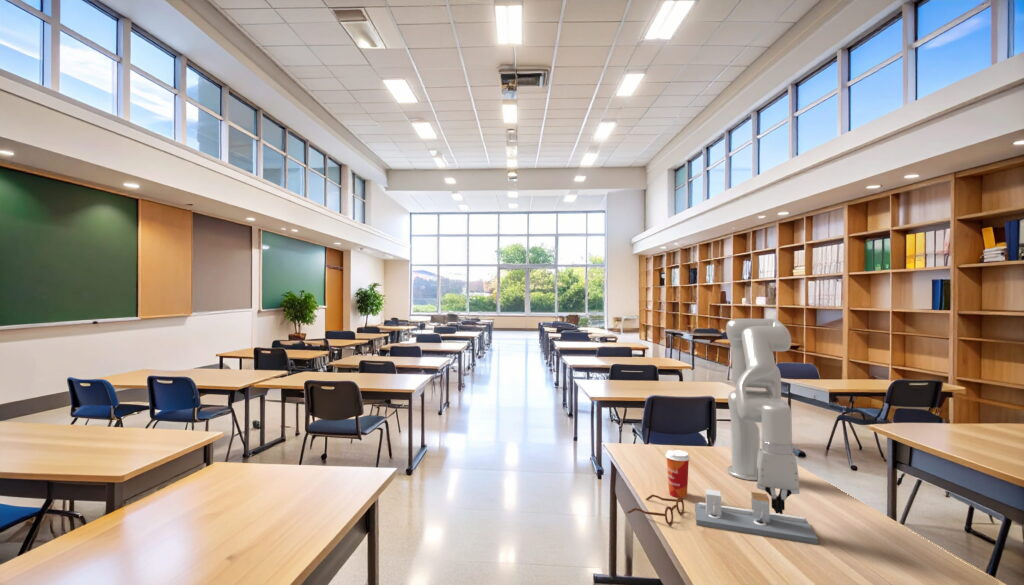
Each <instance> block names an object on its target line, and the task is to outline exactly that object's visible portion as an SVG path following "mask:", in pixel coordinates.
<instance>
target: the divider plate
mask: <svg viewBox="0 0 1024 585" xmlns="http://www.w3.org/2000/svg"><path fill="white" fill-rule="evenodd" d="M694 509H695V510H694V511H695V512H694V514H695V522H696V523H695V524H696V526H700V527H709V528H711V529H713V528H714V529H719V530H727V531H731V530H732V532H739V533H744V534H745V533H746V534H750V533H751V534H752V535H756V536H757V535H758V536H764V537H769V538H774V539H775V538H776V539H783V540H788V541H793V542H799V543H800V542H801V543H807V544H813V545H818V544H819V539H818V537H817V535H816V533H815V531H814V530H813V528H812V526H811V524H810V523H809V521H808V520H807V518H804V517H803V516H797V515H790V514H780V513H776V512H770V511H769V514H770V523H766V522H759V521H754V520H753V517H752V509H747V508H739V507H735V506H734V507H733V506H726V505H722V495H721V490H716V489H715V490H714V489H709V488H708V489H707V488H705V502H694Z"/></svg>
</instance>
